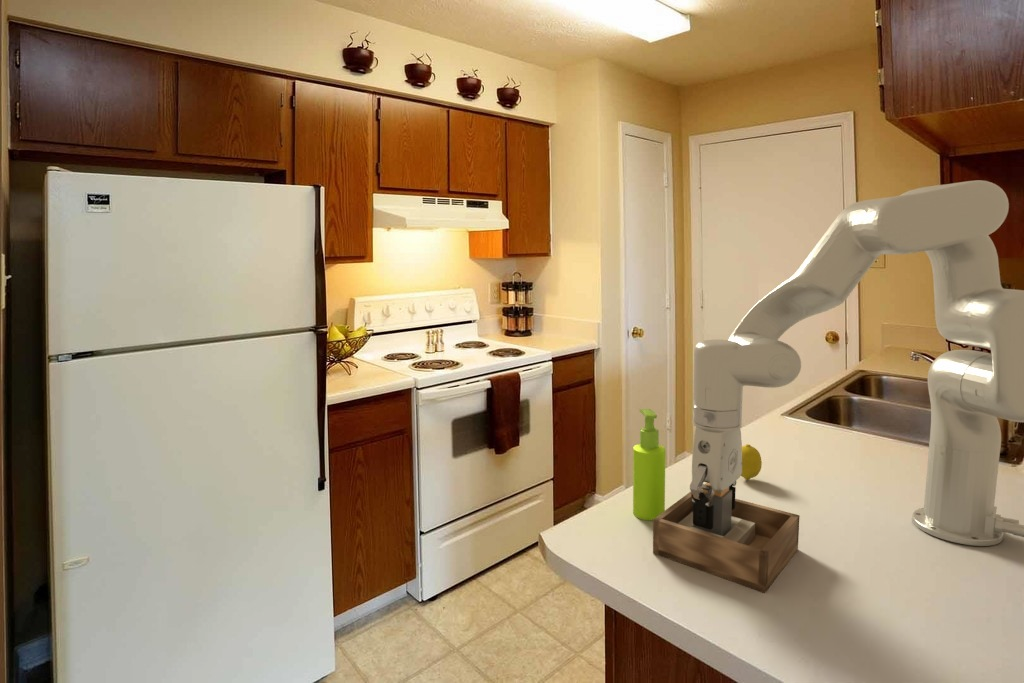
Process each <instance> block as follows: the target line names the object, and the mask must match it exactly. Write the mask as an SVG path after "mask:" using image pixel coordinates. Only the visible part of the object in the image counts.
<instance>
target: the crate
mask: <svg viewBox="0 0 1024 683" xmlns="http://www.w3.org/2000/svg"><path fill="white" fill-rule="evenodd" d="M691 495H692V494H691V491H689V492H688V493H687V494H685V495H684V496H682V497H681V498H680V499H678V500H677V501H676V502H675V503H673V504H672V505H670V506H669V507H668V508H665V511H664V512H662V513H661V514H660V515H658V516H657V517H656V518H654V519H653V522H652V523H653V524H652V554H654V555H656V556H659V557H662V558H666V559H668V560H671V561H673V562H677V563H679V564H682V565H685V566H688V567H691V568H694V569H696V570H700V571H702V572H705V573H708V574H711V575H712V576H716V577H718V578H721V579H724V580H727V581H730V582H732V583H736V584H739V585H741V586H744V587H747V588H749V589H751V590H752V589H753V590H755V591H758V592H760V593H763V594H765V593H766V592H767V591H768V589H770V587H771V586H772V584H773V583H774V582H775V580H776V579H777V577H778V576H779V575H780V574H781V572H782V571H783V570H784V569H785V567H786V566H787V564H788V563H789V562H790V561H791V559H792V558H793V556H794V555H795V554H796V552H797V551H798V550H799V537H800V536H799V535H800V532H799V531H800V517H801V516H800V514H796V513H791V512H789V511H784V510H781V509H776V508H773V507H769V506H764V505H761V504H757V503H753V502H750V501H746V500H743V499H742V500H741V499H740V498H739V499H738V498H735V508H734V509H733V510H732V514H731V530H730V531H729V532H728V533H727V534H726V535H725V536H721V535H718V534H714V533H711V532H708V531H705V530H701V529H698V526H696V525H694V524H693V502H692V496H691Z"/></svg>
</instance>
